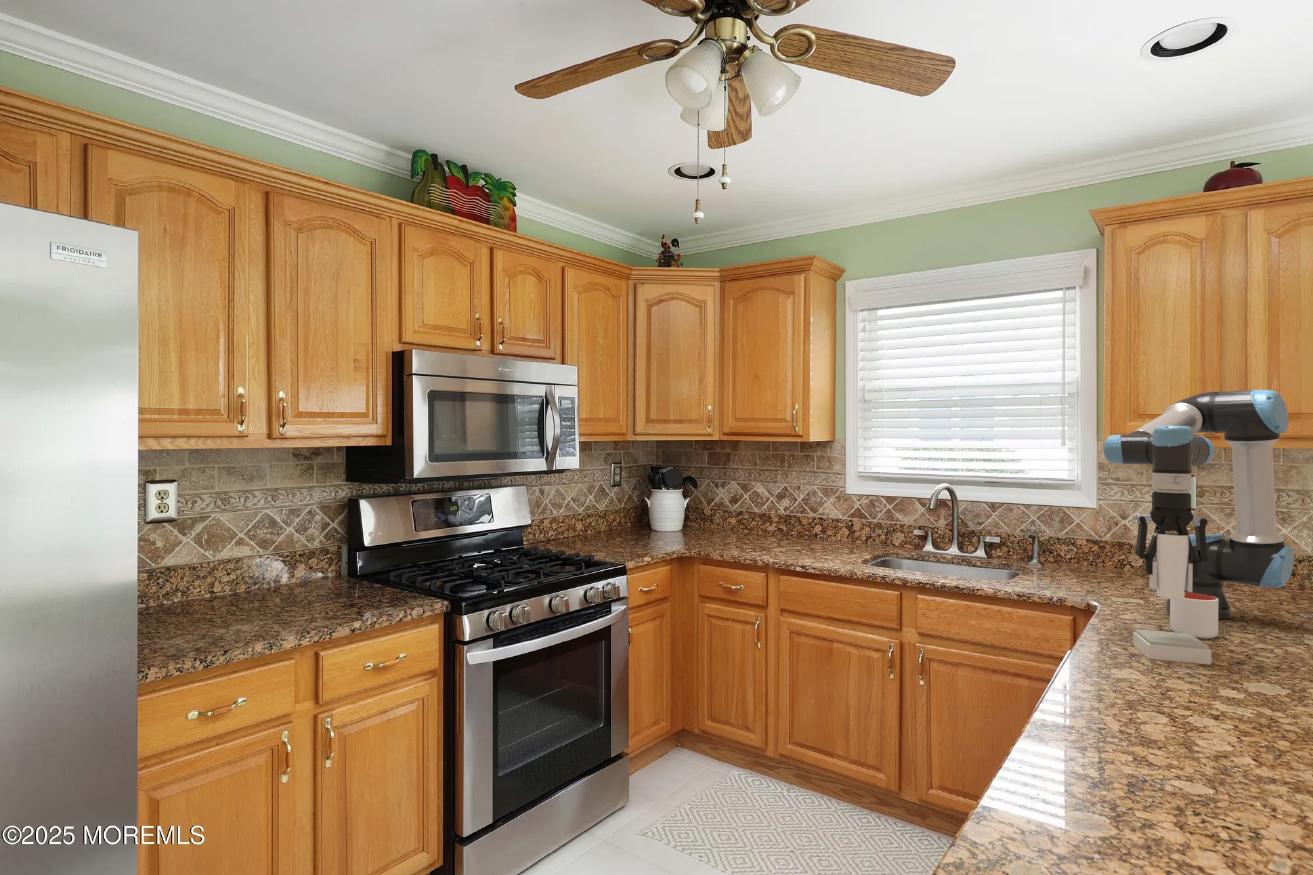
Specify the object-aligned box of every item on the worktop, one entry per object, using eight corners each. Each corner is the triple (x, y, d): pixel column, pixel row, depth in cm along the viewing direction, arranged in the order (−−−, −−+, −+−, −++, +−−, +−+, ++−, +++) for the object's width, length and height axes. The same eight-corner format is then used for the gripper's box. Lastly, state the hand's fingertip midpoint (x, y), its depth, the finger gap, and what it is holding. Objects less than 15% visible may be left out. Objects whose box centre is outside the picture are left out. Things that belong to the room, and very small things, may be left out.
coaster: (1190, 650, 171) (1191, 633, 171) (1211, 664, 160) (1211, 646, 160) (1132, 644, 175) (1132, 628, 175) (1148, 658, 164) (1148, 641, 164)
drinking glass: (1178, 601, 163) (1179, 536, 163) (1146, 596, 169) (1147, 532, 169) (1194, 599, 166) (1195, 534, 166) (1162, 593, 172) (1163, 531, 172)
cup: (1226, 641, 179) (1227, 601, 179) (1181, 638, 181) (1182, 599, 181) (1204, 630, 189) (1205, 593, 189) (1162, 628, 191) (1162, 591, 191)
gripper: (1128, 490, 167) (1127, 589, 167) (1227, 494, 161) (1226, 596, 161) (1119, 489, 174) (1118, 583, 174) (1214, 491, 168) (1213, 589, 168)
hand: (1170, 589), depth 167 cm, fingers closed on drinking glass, 6 cm apart
